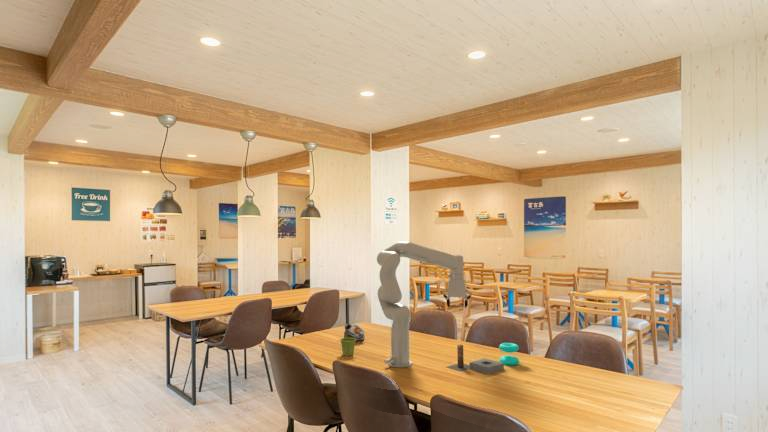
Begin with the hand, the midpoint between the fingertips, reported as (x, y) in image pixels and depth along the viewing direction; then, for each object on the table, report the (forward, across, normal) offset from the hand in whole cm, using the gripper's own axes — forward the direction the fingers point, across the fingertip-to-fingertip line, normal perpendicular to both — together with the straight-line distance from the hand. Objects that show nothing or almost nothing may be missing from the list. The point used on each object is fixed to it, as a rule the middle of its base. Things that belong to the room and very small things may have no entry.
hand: (457, 307), depth 251 cm
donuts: (+27, +28, -9) cm, 40 cm away
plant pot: (+28, -61, -16) cm, 69 cm away
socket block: (+27, +18, -24) cm, 40 cm away
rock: (+28, -70, +20) cm, 78 cm away
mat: (+27, +5, -24) cm, 36 cm away
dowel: (+27, +5, -24) cm, 36 cm away
